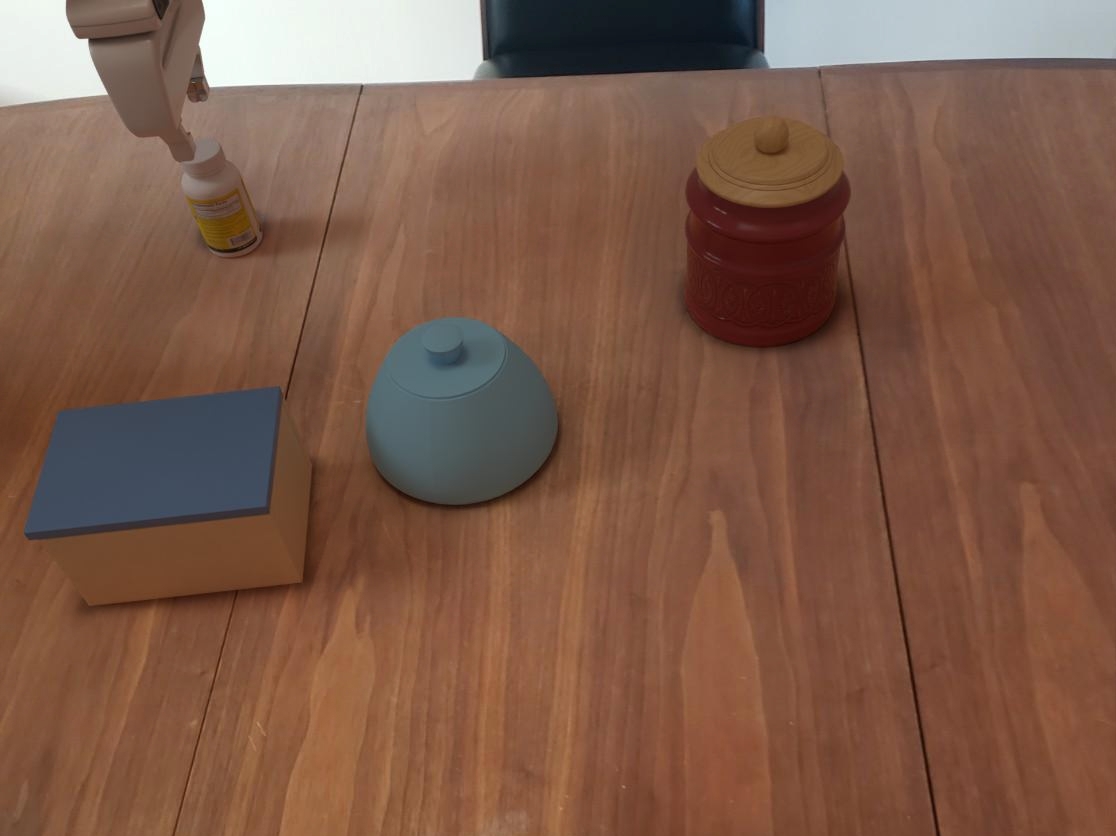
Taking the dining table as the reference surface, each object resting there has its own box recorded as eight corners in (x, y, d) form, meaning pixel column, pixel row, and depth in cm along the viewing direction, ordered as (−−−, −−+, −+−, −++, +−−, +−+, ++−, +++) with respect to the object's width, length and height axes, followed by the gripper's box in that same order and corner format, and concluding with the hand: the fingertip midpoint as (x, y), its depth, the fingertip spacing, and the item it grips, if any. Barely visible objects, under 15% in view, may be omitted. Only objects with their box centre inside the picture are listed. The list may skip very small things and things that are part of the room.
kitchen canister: (727, 377, 90) (737, 188, 76) (659, 288, 97) (656, 101, 83) (862, 328, 92) (896, 136, 78) (786, 245, 100) (804, 56, 85)
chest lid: (28, 540, 72) (22, 533, 72) (63, 418, 79) (57, 410, 78) (269, 514, 72) (266, 506, 72) (283, 393, 79) (279, 385, 78)
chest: (96, 615, 79) (38, 540, 72) (122, 497, 86) (71, 417, 79) (306, 591, 79) (270, 514, 72) (316, 475, 86) (283, 394, 79)
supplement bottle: (221, 223, 107) (184, 131, 99) (272, 227, 106) (239, 134, 98) (199, 257, 104) (159, 165, 96) (250, 261, 103) (214, 169, 95)
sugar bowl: (436, 364, 93) (409, 251, 84) (591, 412, 89) (581, 297, 79) (338, 484, 85) (296, 374, 76) (503, 543, 81) (480, 434, 72)
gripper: (110, -93, 90) (175, 69, 101) (60, 29, 78) (140, 197, 89) (185, -102, 90) (241, 61, 101) (147, 19, 78) (216, 189, 89)
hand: (194, 126), depth 95 cm, fingers open, 8 cm apart
